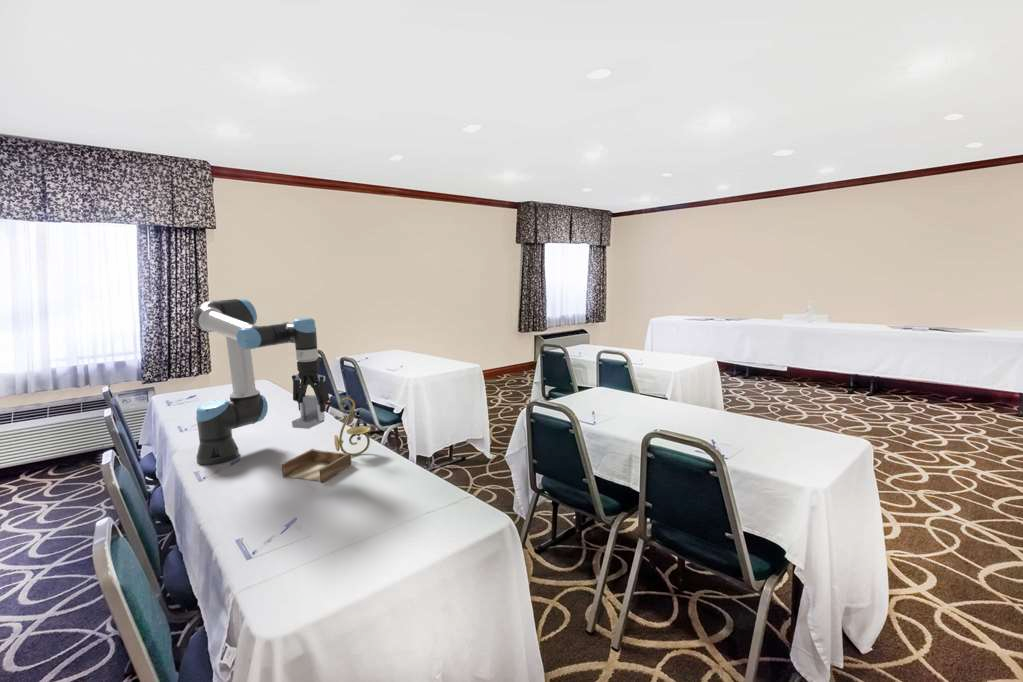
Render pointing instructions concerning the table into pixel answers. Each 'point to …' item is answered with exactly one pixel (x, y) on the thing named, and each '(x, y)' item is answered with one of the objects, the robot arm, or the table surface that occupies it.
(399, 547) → the table surface
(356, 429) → the wall sconce
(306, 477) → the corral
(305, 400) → the angle bracket
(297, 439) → the table surface
